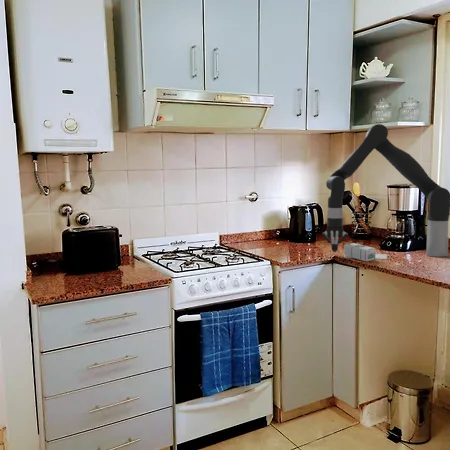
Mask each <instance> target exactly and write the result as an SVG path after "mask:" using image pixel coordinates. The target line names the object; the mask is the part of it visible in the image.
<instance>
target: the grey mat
mask: <svg viewBox="0 0 450 450" xmlns="http://www.w3.org/2000/svg"><path fill="white" fill-rule="evenodd" d="M342 257H343V258H345V259H353V258H352V257H349V256H346V255H343V256H342ZM382 259H384V260H386V261H387V260H388V254H384V253H383V254H382V253H375V260H382Z"/></svg>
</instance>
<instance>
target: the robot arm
mask: <svg viewBox="0 0 450 450" xmlns="http://www.w3.org/2000/svg"><path fill="white" fill-rule="evenodd" d="M388 136H389V130H388V128H387V126H385V125H384V124H380V123H378V124H377V123H376V124H374V125H372V126H371V127H370V128H369V129H368V131H366V133H365V138H364V139H363V141H362V142H361V144H359V146H357V148H356V149H355V150H353V152H352V153H351V154H350V155H349V156H348V157H347V158H346V159H345V160H344V162H343V163H342V164H341V165H340V167H339V168H338V169H336V170H335V171H333V172H332V174H331V175H329V177H328V178H327V180H326V182H325V185H326V187H327V189H328V190H329V191H330V195H329V196H328V197H327V213H326V214H327V215H326V218H327V219H326V220H327V221H326V225H327V227H326V230H325V231H324V232H322V233H321V235H322V236H323V238H324V239H325V240H326V242H327V243H329V244H331V251H332V252H333V253H335V252H336V253H337V251H338V248H339V244H342V242H343V241H344V240H345V239H346V238H347V236H348V235H349V233H348V232H346V231H345V230H344V225H343V223H344V212H343V211H344V209H343V207H344V206H343V203H344V202H343V199H344V194H345V189H346V182H345V180H346V179H349V178H351V177H352V176H353V175H354V174H355V172H356V171H357V170H359V168H360V167H361V165H362V164H363V163H364V161H365V160H366V159H367V157H369V155H370V154H371V153H372V152H373V150H375V151H376V152H378V153H379V154H380V155H382V157H384V158H385V160H386V161H388V162H389V163H390V164H391V165H392V166H393V167H394V168H395V170H397V172H398V173H399V174H400V175H402V176H403V177H404V178H405V179H406V180H408V182H409V183H411V184H412V185H413V186H415V187H416V188H417V189H418V190H419V191H420V192H421V193H422V194H423V196H425V198H426V199H427V201H428V202H429V205H428V207H429V208H428V215H427V229H426V230H427V231H426V233H427V234H426V249H425V250H426V253H425V254H426V256H429V257H439V258H441V257H448V255H449V253H448V252H449V236H448V235H449V220H450V219H449V217H450V191H449V190H448V189H447V188H445V187H442V186H440V185H439V184H437V182H435V181H434V180H433V179H432V178H431V177H430V176H429V175H428V173H427V172H426V170H425V169H424V168H423V167H422V166H421V164H420V163H419V162H418V161H417V160H416V159H415V158H414V157H413V156H412V155H411V154H410V153H408V152H406V151H405V150H403V149H401V148H400V147H397V146H396V145H394V144H393V143H392V142H391V141H390V140H389V139H388ZM328 236H329V237H328ZM341 236H342V237H341ZM339 237H341V238H340V239H339Z"/></svg>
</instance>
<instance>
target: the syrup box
mask: <svg viewBox="0 0 450 450" xmlns="http://www.w3.org/2000/svg"><path fill="white" fill-rule="evenodd" d="M343 249H344V250H343V252H344V253H343V254H344V255H346V256H349V257H352V258H351V259H356V260H360V261H364V262H370V261H375V260H376V259H375V254H376V248H375V247H371V246H367V245H363V244H360V243H356V242H355V243H354V242H350V243H345V244H344V247H343ZM344 255H343V256H344Z"/></svg>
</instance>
